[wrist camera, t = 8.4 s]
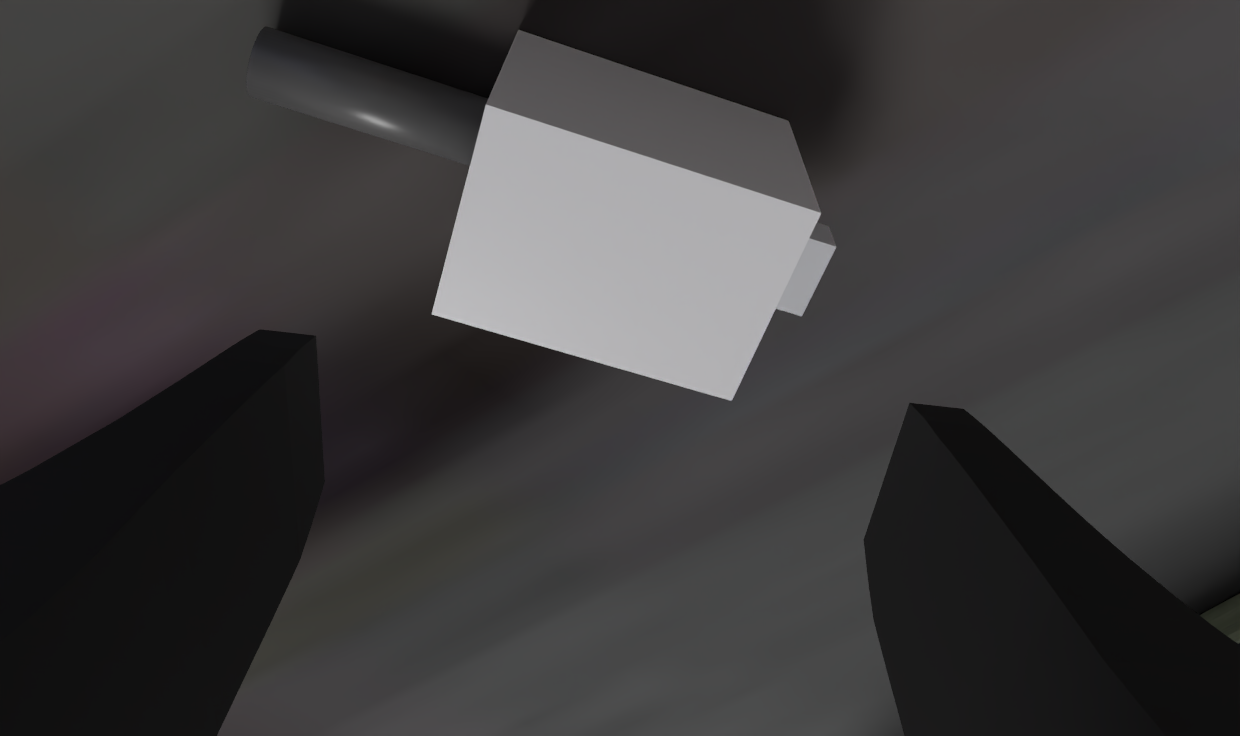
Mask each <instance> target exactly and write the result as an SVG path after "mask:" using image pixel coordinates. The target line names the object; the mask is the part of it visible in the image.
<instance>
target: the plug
mask: <svg viewBox="0 0 1240 736" xmlns="http://www.w3.org/2000/svg"><path fill="white" fill-rule="evenodd" d="M247 92H248V95H249V96H250V97H252V98H255V99H258V100H261V101H264V102H268V103H271V104H274V105H277V106H280V107H283V108H287V109H290V110H293V111H296V112H299V113H303V114H306V115H309V116H312V117H315V118H319V119H322V120H325V121H328V122H331V123H334V124H338V125H341V126H344V127H347V128H350V129H354V130H357V131H360V132H363V133H366V134H370V135H373V136H376V137H379V138H382V139H386V140H389V141H392V142H395V143H398V144H401V145H405V146H408V147H411V148H414V149H417V150H421V151H424V152H427V153H430V154H433V155H437V156H440V157H443V158H446V159H449V160H452V161H456V162H459V163H462V164H465V165H468V166H470V168H469V171H468V175H467V179H466V183H465V187H464V191H463V195H462V199H461V202H460V206H459V210H458V214H457V218H456V222H455V226H454V230H453V233H452V237H451V241H450V245H449V249H448V253H447V257H446V261H445V264H444V268H443V272H442V276H441V280H440V284H439V288H438V292H437V295H436V299H435V303H434V307H433V311H432V315H436V316H439V317H443V318H446V319H450V320H453V321H457V322H460V323H464V324H467V325H471V326H474V327H477V328H481V329H484V330H488V331H491V332H495V333H498V334H502V335H505V336H509V337H512V338H515V339H519V340H522V341H526V342H529V343H533V344H536V345H540V346H543V347H547V348H550V349H554V350H557V351H560V352H564V353H567V354H571V355H574V356H578V357H581V358H585V359H588V360H592V361H595V362H599V363H602V364H605V365H609V366H612V367H616V368H619V369H623V370H626V371H630V372H633V373H637V374H640V375H644V376H647V377H650V378H654V379H657V380H661V381H664V382H668V383H671V384H675V385H678V386H682V387H685V388H688V389H692V390H695V391H699V392H702V393H706V394H709V395H713V396H716V397H720V398H723V399H727V400H730V401H732V399H733V397H734V395H735V393H736V391H737V389H738V387H739V384H740V382H741V380H742V378H743V376H744V374H745V372H746V370H747V368H748V366H749V363H750V361H751V359H752V357H753V355H754V353H755V351H756V349H757V347H758V345H759V343H760V340H761V338H762V336H763V334H764V332H765V330H766V328H767V326H768V324H769V322H770V319H771V317H772V315H773V313H774V311H775V309H779V310H782V311H786V312H789V313H792V314H795V315H799V316H802V315H803V313H804V311H805V309H806V307H807V305H808V303H809V301H810V299H811V297H812V295H813V293H814V291H815V289H816V287H817V285H818V283H819V281H820V279H821V277H822V275H823V273H824V271H825V269H826V267H827V265H828V263H829V261H830V259H831V257H832V255H833V253H834V250H835V248H836V245H835V242H834V239H833V236H832V234H831V231H830V228H829V226H826V225H823V224H820V223H817V221H818V219H819V217H820V215H821V211H820V208H819V205H818V202H817V200H816V197H815V194H814V191H813V188H812V185H811V183H810V180H809V177H808V174H807V171H806V168H805V166H804V163H803V160H802V157H801V154H800V151H799V149H798V146H797V143H796V140H795V137H794V135H793V132H792V129H791V126H790V123H789V121H788V120H785V119H782V118H779V117H776V116H773V115H770V114H767V113H764V112H761V111H758V110H755V109H752V108H749V107H746V106H743V105H740V104H737V103H734V102H731V101H728V100H725V99H722V98H719V97H716V96H714V95H711V94H708V93H705V92H702V91H699V90H696V89H693V88H690V87H687V86H684V85H681V84H678V83H675V82H672V81H669V80H666V79H663V78H660V77H657V76H654V75H651V74H648V73H645V72H642V71H639V70H636V69H633V68H631V67H628V66H625V65H622V64H619V63H616V62H613V61H610V60H607V59H604V58H601V57H598V56H595V55H592V54H589V53H586V52H583V51H580V50H577V49H574V48H571V47H568V46H565V45H562V44H559V43H556V42H553V41H550V40H548V39H545V38H542V37H539V36H536V35H533V34H530V33H527V32H524V31H521V30H518V31H517V34H516V36H515V38H514V41H513V43H512V45H511V48H510V50H509V52H508V54H507V57H506V59H505V61H504V64H503V66H502V68H501V71H500V73H499V75H498V77H497V80H496V82H495V84H494V87H493V89H492V91H491V94H490V96H489V98H485V97H482V96H479V95H476V94H473V93H469V92H466V91H463V90H460V89H457V88H454V87H451V86H448V85H445V84H442V83H439V82H436V81H433V80H429V79H426V78H423V77H420V76H417V75H414V74H411V73H408V72H405V71H402V70H399V69H396V68H393V67H389V66H386V65H383V64H380V63H377V62H374V61H371V60H368V59H365V58H362V57H359V56H356V55H353V54H349V53H346V52H343V51H340V50H337V49H334V48H331V47H328V46H325V45H322V44H319V43H316V42H313V41H309V40H306V39H303V38H300V37H297V36H294V35H291V34H288V33H285V32H282V31H279V30H276V29H273V28H269V27H264V28H263V29H262V30H261V31H260V33H259V35H258V37H257V39H256V41H255V43H254V46H253V49H252V52H251V56H250V60H249V65H248V71H247Z"/></svg>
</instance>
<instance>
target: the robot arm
mask: <svg viewBox="0 0 1240 736" xmlns="http://www.w3.org/2000/svg"><path fill="white" fill-rule="evenodd" d="M324 482H325V480H324V464H323V447H322V431H321V414H320V397H319V381H318V364H317V347H316V336H313V335H304V334H295V333H286V332H277V331H269V330H258V331H256V332H255V333H253V334H251V335H249V336H248V337H246V338H244V339H243V340H241V341H239V342H238V343H236V344H235V345H233V346H231V347H230V348H228V349H227V350H225V351H224V352H222V353H221V354H219V355H218V356H216V357H215V358H213V359H211V360H210V361H208V362H207V363H205V364H204V365H202V366H201V367H199V368H198V369H196V370H195V371H193V372H192V373H190V374H189V375H187V376H186V377H184V378H182V379H181V380H179V381H178V382H176V383H175V384H173V385H172V386H170V387H168V388H167V389H165V390H164V391H162V392H161V393H159V394H157V395H156V396H154V397H153V398H151V399H149V400H148V401H146V402H145V403H143V404H142V405H140V406H138V407H137V408H135V409H134V410H132V411H131V412H129V413H127V414H126V415H124V416H123V417H121V418H119V419H118V420H116V421H114V422H113V423H111V424H109V425H107V426H106V427H104V428H102V429H100V430H99V431H97V432H95V433H93V434H92V435H90V436H88V437H86V438H85V439H83V440H81V441H80V442H78V443H76V444H74V445H73V446H71V447H69V448H67V449H66V450H64V451H62V452H60V453H59V454H57V455H55V456H53V457H52V458H50V459H48V460H46V461H45V462H43V463H41V464H39V465H38V466H36V467H34V468H32V469H31V470H29V471H27V472H25V473H23V474H21V475H19V476H17V477H15V478H13V479H11V480H10V481H8V482H6V483H4V484H2V485H0V736H217V734H218V732H219V730H220V728H221V726H222V723H223V721H224V719H225V717H226V715H227V713H228V711H229V709H230V707H231V705H232V703H233V700H234V698H235V696H236V694H237V692H238V690H239V688H240V686H241V684H242V682H243V679H244V677H245V675H246V673H247V671H248V669H249V667H250V665H251V663H252V661H253V659H254V656H255V654H256V652H257V650H258V648H259V646H260V644H261V642H262V640H263V638H264V636H265V633H266V631H267V629H268V627H269V625H270V623H271V621H272V619H273V617H274V614H275V612H276V610H277V608H278V606H279V604H280V602H281V600H282V597H283V595H284V593H285V591H286V589H287V587H288V585H289V582H290V580H291V578H292V576H293V574H294V572H295V569H296V567H297V565H298V563H299V561H300V558H301V555H302V552H303V549H304V546H305V543H306V540H307V537H308V534H309V531H310V528H311V525H312V522H313V518H314V515H315V512H316V508H317V505H318V502H319V499H320V495H321V492H322V489H323V485H324ZM864 546H865V555H866V564H867V573H868V582H869V590H870V597H871V604H872V611H873V618H874V622H875V626H876V630H877V634H878V638H879V642H880V646H881V650H882V654H883V657H884V661H885V665H886V669H887V672H888V676H889V680H890V684H891V687H892V691H893V695H894V698H895V702H896V705H897V709H898V713H899V716H900V720H901V724H902V727H903V731H904V735H905V736H1240V645H1239V644H1238V643H1236V642H1235V641H1233V640H1232V639H1231V638H1229V637H1228V636H1226V635H1225V634H1224V633H1222V632H1221V631H1219V630H1218V629H1217V628H1215V627H1214V626H1213V625H1211V624H1210V623H1209V622H1207V621H1206V620H1205V619H1203V618H1202V617H1201V616H1200V615H1198V614H1197V613H1196V612H1194V611H1193V610H1192V609H1190V608H1189V607H1188V606H1186V605H1185V604H1184V603H1183V602H1181V601H1180V600H1179V599H1178V598H1176V597H1175V596H1174V595H1173V594H1172V593H1170V592H1169V591H1168V590H1167V589H1166V588H1164V587H1163V586H1162V585H1161V584H1159V583H1158V582H1157V581H1156V580H1155V579H1153V578H1152V577H1151V576H1150V575H1149V574H1147V573H1146V572H1145V571H1144V570H1142V569H1141V568H1140V567H1139V566H1138V565H1136V564H1135V563H1134V562H1133V561H1132V560H1130V559H1129V558H1128V557H1127V556H1126V555H1125V554H1123V553H1122V552H1121V551H1120V550H1119V549H1118V548H1116V547H1115V546H1114V545H1113V544H1112V543H1111V542H1110V541H1108V540H1107V539H1106V538H1105V537H1104V536H1103V535H1102V534H1100V533H1099V532H1098V531H1097V530H1096V529H1095V528H1094V527H1093V526H1092V525H1090V524H1089V523H1088V522H1087V521H1086V520H1085V519H1084V518H1083V517H1082V516H1080V515H1079V514H1078V513H1077V512H1076V511H1075V510H1074V509H1073V508H1072V507H1071V506H1070V505H1068V504H1067V503H1066V502H1065V501H1064V500H1063V499H1062V498H1061V497H1060V496H1059V495H1058V494H1057V493H1055V492H1054V491H1053V490H1052V489H1051V488H1050V487H1049V486H1048V485H1047V484H1046V483H1045V482H1044V481H1043V480H1042V479H1040V478H1039V477H1038V476H1037V475H1036V474H1035V473H1034V472H1033V471H1032V470H1031V469H1030V468H1029V467H1028V466H1027V465H1026V464H1025V463H1023V462H1022V461H1021V460H1020V459H1019V458H1018V457H1017V456H1016V455H1015V454H1014V453H1013V452H1012V451H1011V450H1010V449H1009V448H1007V447H1006V446H1005V445H1004V444H1003V443H1002V442H1001V441H1000V440H999V439H998V438H997V437H996V436H995V435H993V434H992V433H991V432H990V431H989V430H988V429H987V428H986V427H985V426H983V425H982V424H981V423H980V422H979V421H978V420H976V419H975V418H974V417H973V416H972V415H970V414H969V413H968V412H967V411H965V410H964V409H959V408H950V407H941V406H932V405H923V404H914V403H909V406H908V409H907V412H906V415H905V418H904V421H903V424H902V427H901V430H900V433H899V436H898V439H897V442H896V445H895V448H894V451H893V454H892V457H891V460H890V463H889V466H888V469H887V472H886V475H885V478H884V481H883V484H882V487H881V490H880V493H879V496H878V499H877V502H876V505H875V508H874V511H873V514H872V517H871V520H870V523H869V526H868V529H867V532H866V535H865V538H864Z"/></svg>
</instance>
